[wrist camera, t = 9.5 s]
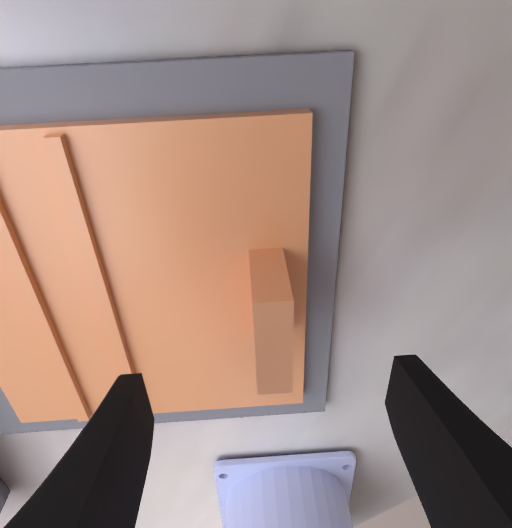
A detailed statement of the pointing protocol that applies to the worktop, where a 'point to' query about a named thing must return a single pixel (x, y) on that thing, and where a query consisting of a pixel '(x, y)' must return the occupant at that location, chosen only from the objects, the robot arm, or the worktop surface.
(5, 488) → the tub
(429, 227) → the worktop surface
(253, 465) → the robot arm
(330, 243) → the mat
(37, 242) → the lid
